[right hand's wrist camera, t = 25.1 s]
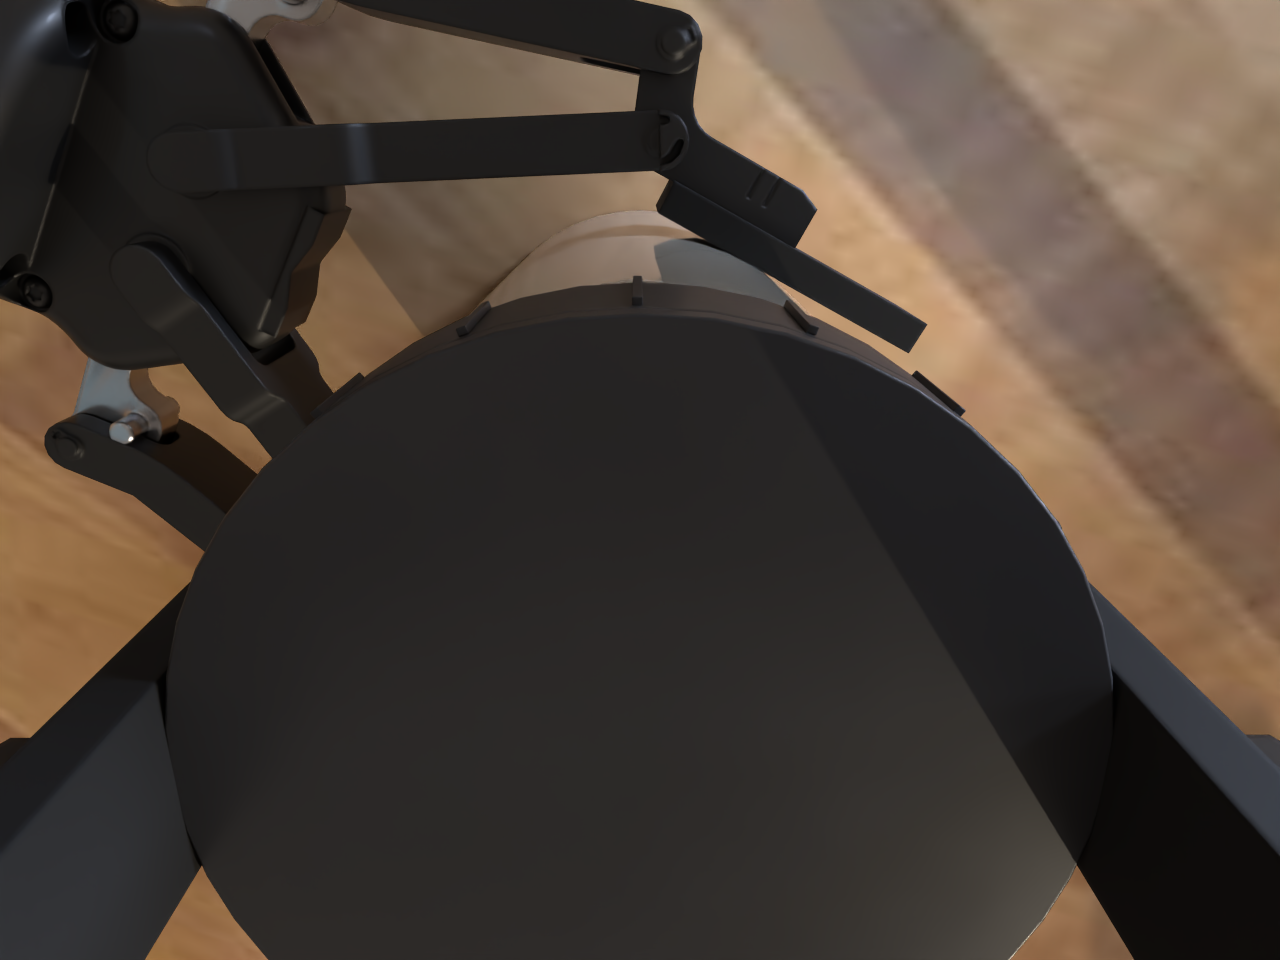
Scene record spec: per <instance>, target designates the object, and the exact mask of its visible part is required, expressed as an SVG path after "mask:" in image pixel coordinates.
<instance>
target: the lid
mask: <svg viewBox="0 0 1280 960" xmlns="http://www.w3.org/2000/svg"><path fill="white" fill-rule="evenodd" d="M964 412H965V409H963V408H962V407H961V406H960V405H959V404H957V403H956V402H955V401H954V400H952V399H951V398H950V397H949V396H948V395H946V394H945V393H944V392H943V391H941V390H940V389H939V388H938V387H937V386H935V385H934V384H933V383H932V382H930V381H929V380H928V379H927V378H925V377H924V376H923V375H922V374H921V373H919V372H918V371H915V372H914V373H913V375H910V374H909V373H908V372H906V371H905V370H903V369H902V368H901V367H899V366H898V365H896V364H895V363H893V362H892V361H891V360H889V359H888V358H886V357H885V356H884V355H882V354H881V353H879V352H878V351H876V350H875V349H874V348H872V347H871V346H869V345H868V344H866V343H864V342H862V341H860V340H858V339H856V338H854V337H852V336H850V335H849V334H847V333H845V332H843V331H841V330H839V329H837V328H835V327H833V326H831V325H829V324H827V323H825V322H823V321H821V320H819V319H817V318H815V317H812V316H809V315H806V314H805V313H804V312H803V311H802V310H801V309H800V307H799V306H798V305H797V304H796V303H795V302H792V301H790V300H786V302H785V305H784V306H781V305H778V304H775V303H772V302H769V301H767V300H764V299H761V298H756V297H751V296H746V295H741V294H737V293H732V292H727V291H722V290H717V289H712V288H707V287H703V286H690V285H676V284H661V283H647V282H642V276H633V283H618V284H603V285H587V286H577V287H572V288H567V289H562V290H557V291H552V292H547V293H542V294H537V295H532V296H527V297H522V298H519V299H516V300H513V301H510V302H507V303H504V304H501V305H498V306H495V307H492V308H491V305H490V302H489V301H486V302H484V303H481V304H480V305H479V306H478V307H477V308H476V309H475V310H474V311H473V312H472V313H471V314H470V315H469V316H466V317H464V318H462V319H460V320H458V321H456V322H454V323H452V324H450V325H448V326H446V327H444V328H442V329H440V330H438V331H436V332H434V333H432V334H430V335H428V336H426V337H424V338H422V339H420V340H418V341H416V342H414V343H413V344H411V345H410V346H408V347H407V348H405V349H404V350H402V351H401V352H400V353H398V354H397V355H395V356H394V357H392V358H391V359H390V360H388V361H387V362H385V363H384V364H382V365H381V366H380V367H378V368H377V369H375V370H374V371H372V372H371V373H369V374H368V375H367V376H365V377H364V376H363V375H362V374H361V373H358V374H357V375H356V376H354V377H353V378H352V379H351V380H350V381H348V382H347V383H346V384H345V385H343V386H342V387H341V388H340V389H339V390H337V391H336V392H335V393H334V394H332V395H331V396H330V397H329V398H328V399H326V400H325V401H324V402H323V403H321V404H320V405H319V406H318V407H317V408H315V409H314V410H313V411H312V412H311V413H310V414H311V415H312V416H313V417H314V418H315V420H314V421H312V422H311V423H310V424H309V425H308V426H307V427H306V428H305V429H304V430H303V431H302V432H300V433H299V434H298V435H297V436H296V437H295V438H294V439H293V440H292V441H291V442H290V443H289V444H288V445H287V446H286V447H284V448H283V449H282V450H281V451H280V452H279V453H278V454H277V455H276V456H275V457H274V458H273V459H272V460H271V461H270V462H269V463H267V464H266V465H265V466H264V467H263V468H262V469H261V471H260V472H259V473H258V474H257V476H256V477H255V478H254V480H253V481H252V482H251V483H250V485H249V486H248V487H247V489H246V490H245V491H244V492H243V494H242V495H241V496H240V497H239V499H238V500H237V501H236V503H235V504H234V505H233V506H232V508H231V509H230V510H229V511H228V513H227V514H226V515H225V517H224V518H223V520H222V522H221V523H220V524H219V525H218V527H217V529H216V531H215V532H216V533H215V534H214V536H213V538H212V540H211V542H210V543H209V545H208V547H207V549H206V551H205V552H204V554H203V556H202V558H201V560H200V561H199V563H198V565H197V567H196V569H195V571H194V574H193V577H192V580H191V583H190V585H189V588H188V591H187V594H186V596H185V599H184V602H183V605H182V607H181V610H180V613H179V616H178V618H177V621H176V626H175V632H174V637H173V642H172V648H171V653H170V658H169V663H168V669H167V674H166V702H165V734H166V739H167V744H168V749H169V754H170V759H171V764H172V769H173V774H174V778H175V783H176V788H177V792H178V797H179V802H180V806H181V810H182V814H183V819H184V823H185V827H186V831H187V834H188V836H189V838H190V840H191V842H192V844H193V847H194V849H195V851H196V853H197V855H198V858H199V860H200V862H201V864H202V866H203V868H204V871H205V873H206V875H207V877H208V879H209V880H210V882H211V883H212V885H213V886H214V888H215V890H216V891H217V893H218V894H219V896H220V897H221V899H222V901H223V902H224V904H225V905H226V907H227V908H228V910H229V911H230V913H231V915H232V916H233V918H234V919H235V921H236V922H237V923H238V924H239V925H240V926H241V928H242V929H243V930H244V931H245V932H246V934H247V935H248V936H249V937H250V938H251V940H252V941H253V942H254V943H255V944H256V946H257V947H258V948H259V949H260V950H261V952H262V953H263V954H264V955H265V956H266V958H267V959H268V960H1010V959H1011V958H1012V957H1013V956H1014V955H1015V953H1016V952H1017V951H1018V950H1019V949H1020V947H1021V946H1022V945H1023V944H1024V943H1025V941H1026V940H1027V939H1028V938H1029V937H1030V936H1031V934H1032V933H1033V932H1034V931H1035V930H1036V928H1037V927H1038V926H1039V925H1040V924H1041V923H1042V921H1043V920H1044V918H1045V917H1046V915H1047V914H1048V912H1049V911H1050V909H1051V908H1052V906H1053V904H1054V903H1055V901H1056V900H1057V898H1058V897H1059V895H1060V894H1061V892H1062V891H1063V889H1064V887H1065V886H1066V884H1067V883H1068V881H1069V880H1070V878H1071V876H1072V874H1073V872H1074V869H1075V867H1076V865H1077V863H1078V861H1079V859H1080V857H1081V854H1082V852H1083V850H1084V848H1085V846H1086V844H1087V842H1088V839H1089V837H1090V835H1091V833H1092V830H1093V826H1094V821H1095V817H1096V813H1097V809H1098V805H1099V800H1100V796H1101V791H1102V786H1103V782H1104V777H1105V772H1106V768H1107V763H1108V758H1109V753H1110V747H1111V742H1112V737H1113V732H1114V721H1113V677H1112V671H1111V666H1110V660H1109V655H1108V649H1107V644H1106V638H1105V633H1104V627H1103V623H1102V620H1101V617H1100V614H1099V611H1098V609H1097V606H1096V603H1095V600H1094V597H1093V594H1092V592H1091V589H1090V586H1089V583H1088V580H1087V577H1086V575H1085V572H1084V570H1083V568H1082V566H1081V564H1080V562H1079V560H1078V559H1077V557H1076V555H1075V553H1074V551H1073V549H1072V548H1071V546H1070V544H1069V542H1068V540H1067V538H1066V537H1065V535H1064V533H1063V531H1062V527H1061V526H1060V524H1059V522H1058V521H1057V520H1056V519H1055V517H1054V516H1053V515H1052V513H1051V512H1050V511H1049V510H1048V508H1047V507H1046V506H1045V504H1044V503H1043V502H1042V500H1041V499H1040V498H1039V497H1038V495H1037V494H1036V493H1035V491H1034V490H1033V489H1032V487H1031V486H1030V485H1029V484H1028V482H1027V481H1026V480H1025V478H1024V477H1023V476H1022V475H1021V473H1020V472H1019V471H1018V470H1017V469H1016V468H1015V467H1014V466H1013V465H1012V464H1011V463H1010V462H1009V461H1008V460H1007V459H1006V458H1005V457H1004V456H1003V455H1002V454H1001V453H999V452H998V451H997V450H996V449H995V448H994V447H993V446H992V445H991V444H990V443H989V442H988V441H987V440H986V439H985V438H984V437H983V436H982V435H981V434H980V433H978V432H977V431H976V430H975V429H974V428H973V427H972V426H971V425H970V424H969V423H968V422H966V421H965V420H964V419H963V418H961V416H962V414H963V413H964Z"/></svg>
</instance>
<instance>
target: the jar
mask: <svg viewBox="0 0 1280 960" xmlns="http://www.w3.org/2000/svg"><path fill="white" fill-rule="evenodd" d="M633 276H642V282H647V283H661V284H676V285H690V286H703V287H707V288H712V289H717V290H722V291H727V292H732V293H737V294H741V295H746V296H751V297H756V298H761V299H764V300H767V301H769V302H772V303H775V304H778V305H781V306H784V305H785V302H786V300H790V301H792V302H795V303H796V304H797V305H798V306H799V307H800V309H801V310H802V311H803V312H804V313H805V314H806V315H809V316H812V315H811V314H810V313H809V312H808V311H807V310H806V309H805V308H804V307H803V306H802V305H801V304H800V303H799V302H798V301H797V300H796V299H795V298H794V297H793V296H792V295H791V294H790V293H789V292H788V291H787V290H786V289H785V288H784V287H783V286H782V285H781V284H780V283H779V282H778V281H777V280H776V279H775V278H773V277H771V276H769V275H768V274H766V273H764V272H762V271H760V270H759V269H757V268H755V267H754V266H752V265H750V264H748V263H746V262H744V261H743V260H741V259H739V258H737V257H735V256H734V255H732V254H730V253H728V252H727V251H725V250H723V249H721V248H719V247H718V246H716V245H714V244H712V243H710V242H709V241H707V240H705V239H703V238H701V237H700V236H698V235H696V234H694V233H693V232H691V231H689V230H687V229H685V228H684V227H682V226H680V225H678V224H676V223H675V222H673V221H671V220H669V219H668V218H666V217H664V216H662V215H660V214H659V213H658V212H657V211H642V210H637V211H623V212H614V213H610V214H605V215H600V216H595V217H593V218H590V219H587V220H584V221H581V222H579V223H576V224H574V225H572V226H570V227H568V228H566V229H564V230H562V231H560V232H558V233H556V234H555V235H553V236H552V237H550V238H549V239H548V240H546V241H545V242H543V243H542V244H541V245H539V246H538V247H537V248H536V249H535V250H534V251H532V252H531V253H530V254H529V255H528V256H527V257H526V258H525V259H524V260H523V261H522V262H521V263H520V264H519V265H518V266H517V267H516V268H515V269H514V270H513V271H512V272H511V273H510V274H509V275H508V276H507V277H506V278H505V279H504V280H503V281H502V282H501V283H500V284H499V285H498V286H497V287H496V288H495V289H494V290H493V291H492V292H491V293H490V294H489V295H488V296H487V297H486V298H485V299H484V300H483V301H482V302H481V303H484V302H486V301H489V302H490V305H491V308H492V307H495V306H498V305H501V304H504V303H507V302H510V301H513V300H516V299H519V298H522V297H527V296H532V295H537V294H542V293H547V292H552V291H557V290H562V289H567V288H572V287H577V286H587V285H603V284H618V283H633ZM481 303H480V304H481ZM480 304H479V305H480ZM479 305H478V306H479ZM478 306H477V307H478ZM477 307H476V308H477ZM476 308H474V309H473V310H472V311H471V312H470V313H469V314H468V315H467V316H469V315H470V314H471V313H472V312H473V311H474V310H475V309H476ZM812 317H813V316H812Z"/></svg>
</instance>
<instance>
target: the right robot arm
mask: <svg viewBox="0 0 1280 960" xmlns="http://www.w3.org/2000/svg"><path fill="white" fill-rule="evenodd" d="M190 583H191V582H190ZM190 583H189V584H188V585H187V586H186V587H185V588H184V589H182V590H181V591H180V592H179V593H178V594H177V595H176V596H175V597H174V598H173V599H172V600H171V601H170V602H169V603H168V604H167V605H166V606H165V607H164V608H163V609H162V610H161V611H160V612H159V613H158V614H157V615H156V616H155V617H154V618H153V619H152V620H151V621H150V622H149V623H148V624H147V625H146V626H145V627H144V628H143V629H142V630H140V631H139V632H138V633H137V634H136V635H135V636H134V637H133V638H132V639H131V640H130V641H129V642H128V643H127V644H126V645H125V646H124V647H123V648H122V649H121V650H120V651H119V652H118V653H117V654H116V655H115V656H114V657H113V658H112V659H111V660H110V661H109V662H108V663H107V664H106V665H105V666H104V667H103V668H102V669H101V670H100V671H98V672H97V673H96V674H95V675H94V676H93V677H92V678H91V679H90V680H89V681H88V682H87V683H86V684H85V685H84V686H83V687H82V688H81V689H80V690H79V691H78V692H77V693H76V694H75V695H74V696H73V697H72V698H71V699H70V700H69V701H68V702H67V703H66V704H65V705H64V706H63V707H62V708H61V709H60V710H59V711H58V712H56V713H55V714H54V715H53V716H52V717H51V718H50V719H49V720H48V721H47V722H46V723H45V724H44V725H43V726H42V727H41V728H40V729H39V730H38V731H37V732H36V733H35V734H34V735H33V736H32V737H31V738H9V739H8V740H6V741H4V742H3V743H1V744H0V960H145V958H146V957H147V955H148V953H149V952H150V950H151V948H152V947H153V945H154V943H155V942H156V940H157V939H158V937H159V935H160V934H161V932H162V930H163V929H164V927H165V925H166V924H167V922H168V920H169V919H170V917H171V915H172V914H173V912H174V910H175V909H176V907H177V905H178V904H179V902H180V901H181V899H182V897H183V896H184V894H185V892H186V891H187V889H188V887H189V886H190V884H191V882H192V881H193V879H194V877H195V876H196V874H197V872H198V871H199V869H200V868H201V866H202V864H201V862H200V860H199V858H198V855H197V853H196V851H195V849H194V847H193V844H192V842H191V840H190V838H189V836H188V834H187V831H186V827H185V823H184V819H183V814H182V810H181V806H180V802H179V797H178V792H177V788H176V783H175V778H174V774H173V769H172V764H171V759H170V754H169V749H168V744H167V739H166V734H165V702H166V674H167V669H168V663H169V658H170V653H171V648H172V642H173V637H174V632H175V626H176V621H177V618H178V616H179V613H180V610H181V607H182V605H183V602H184V599H185V596H186V594H187V591H188V588H189V585H190ZM1088 583H1089V582H1088ZM1089 586H1090V589H1091V592H1092V594H1093V597H1094V600H1095V603H1096V606H1097V609H1098V611H1099V614H1100V617H1101V620H1102V623H1103V627H1104V633H1105V638H1106V644H1107V649H1108V655H1109V660H1110V666H1111V671H1112V677H1113V721H1114V732H1113V737H1112V742H1111V747H1110V753H1109V758H1108V763H1107V768H1106V772H1105V777H1104V782H1103V786H1102V791H1101V796H1100V800H1099V805H1098V809H1097V813H1096V817H1095V821H1094V826H1093V830H1092V833H1091V835H1090V837H1089V839H1088V842H1087V844H1086V846H1085V848H1084V850H1083V852H1082V854H1081V857H1080V859H1079V861H1078V863H1077V866H1078V867H1079V869H1080V871H1081V872H1082V874H1083V876H1084V877H1085V879H1086V881H1087V882H1088V884H1089V886H1090V887H1091V889H1092V891H1093V892H1094V894H1095V896H1096V897H1097V899H1098V900H1099V902H1100V904H1101V905H1102V907H1103V909H1104V910H1105V912H1106V914H1107V915H1108V917H1109V919H1110V920H1111V922H1112V924H1113V925H1114V927H1115V929H1116V930H1117V932H1118V933H1119V935H1120V937H1121V938H1122V940H1123V942H1124V943H1125V945H1126V947H1127V948H1128V950H1129V952H1130V953H1131V955H1132V957H1133V958H1134V960H1280V741H1279V740H1277V739H1276V738H1274V737H1272V736H1270V735H1245V734H1244V733H1243V732H1242V731H1241V730H1240V729H1239V728H1238V727H1237V726H1236V725H1235V724H1234V723H1233V722H1232V721H1231V720H1230V719H1229V718H1228V717H1227V716H1226V715H1225V714H1223V713H1222V712H1221V711H1220V710H1219V709H1218V708H1217V707H1216V706H1215V705H1214V704H1213V703H1212V702H1211V701H1210V700H1209V699H1208V698H1207V697H1206V696H1205V695H1204V694H1203V693H1202V692H1201V691H1200V690H1199V689H1198V688H1197V687H1196V686H1195V685H1194V684H1193V683H1192V682H1191V681H1190V680H1189V679H1188V678H1187V677H1186V676H1185V675H1184V674H1183V673H1181V672H1180V671H1179V670H1178V669H1177V668H1176V667H1175V666H1174V665H1173V664H1172V663H1171V662H1170V661H1169V660H1168V659H1167V658H1166V657H1165V656H1164V655H1163V654H1162V653H1161V652H1160V651H1159V650H1158V649H1157V648H1156V647H1155V646H1154V645H1153V644H1152V643H1151V642H1150V641H1149V640H1148V639H1147V638H1146V637H1145V636H1144V635H1143V634H1142V633H1141V632H1140V631H1138V630H1137V629H1136V628H1135V627H1134V626H1133V625H1132V624H1131V623H1130V622H1129V621H1128V620H1127V619H1126V618H1125V617H1124V616H1123V615H1122V614H1121V613H1120V612H1119V611H1118V610H1117V609H1116V608H1115V607H1114V606H1113V605H1112V604H1111V603H1110V602H1109V601H1108V600H1107V599H1106V598H1105V597H1104V596H1103V595H1102V594H1101V593H1100V592H1099V591H1098V590H1096V589H1095V588H1094V587H1093V586H1092V585H1091V584H1090V583H1089Z"/></svg>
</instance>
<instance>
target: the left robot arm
mask: <svg viewBox="0 0 1280 960" xmlns="http://www.w3.org/2000/svg"><path fill="white" fill-rule="evenodd" d="M338 2H340V3H342V4H344V5H346V6H348V7H351V8H353V9H355V10H358V11H360V12H363V13H365V14H367V15H370V16H373V17H377V18H380V19H384V20H387V21H391V22H396V23H400V24H405V25H409V26H414V27H418V28H423V29H428V30H432V31H437V32H441V33H446V34H450V35H455V36H460V37H464V38H469V39H473V40H478V41H482V42H487V43H492V44H496V45H501V46H505V47H510V48H515V49H519V50H524V51H528V52H533V53H537V54H542V55H547V56H551V57H556V58H560V59H565V60H569V61H574V62H579V63H583V64H588V65H592V66H597V67H601V68H606V69H611V70H615V71H620V72H624V73H629V74H633V75H638V76H640V77H639V84H638V92H637V99H636V107H635V111H627V112H605V113H583V114H561V115H540V116H518V117H496V118H474V119H452V120H431V121H409V122H387V123H358V124H325V125H315V124H314V122H313V120H312V118H311V117H310V115H309V113H308V111H307V110H306V108H305V106H304V104H303V103H302V101H301V99H300V97H299V96H298V94H297V92H296V90H295V89H294V87H293V85H292V83H291V82H290V80H289V78H288V76H287V74H286V73H285V71H284V69H283V67H282V66H281V64H280V62H279V60H278V59H277V57H276V55H275V53H274V52H273V50H272V48H271V46H270V45H269V43H268V42H267V40H266V39H265V37H266V35H267V34H268V32H269V30H270V29H271V28H272V27H273V26H274V25H276V24H277V23H280V22H283V21H295V22H298V23H301V24H305V25H308V26H316V25H319V24H322V23H324V22H325V21H327V20H328V19H329V18H330V17H331V15H332V13H333V12H334V10H335V7H336V5H337V3H338ZM701 50H702V34H701V31H700V28H699V26H698V24H697V23H696V21H695V20H694V19H693V18H692V17H691V16H690V15H688V14H686V13H684V12H682V11H680V10H676V9H671V8H667V7H662V6H658V5H654V4H649V3H645V2H640V1H636V0H208V1H207V4H206V6H205V7H202V6H184V7H176V6H168V5H166V4H164V3H161V2H159V1H157V0H0V299H3V300H5V301H8V302H11V303H14V304H17V305H19V306H22V307H25V308H28V309H31V310H33V311H36V312H38V313H40V314H42V315H44V316H46V317H47V318H49V319H50V320H51V321H53V322H54V323H55V324H57V325H58V326H59V327H60V328H61V329H62V330H63V331H64V332H65V333H66V334H67V335H68V336H69V337H70V338H71V339H72V340H73V342H74V343H75V344H76V345H77V346H78V348H79V349H80V350H81V351H82V352H83V353H84V354H85V355H87V356H88V357H89V358H88V361H87V365H86V369H85V373H84V377H83V380H82V384H81V388H80V392H79V396H78V400H77V403H76V407H75V411H74V413H73V415H72V416H71V417H69V418H67V419H65V420H62V421H60V422H58V423H56V424H55V425H53V426H52V427H50V428H49V429H48V431H47V433H46V435H45V448H46V450H47V453H48V455H49V456H50V457H51V458H52V459H53V460H54V462H55V463H57V464H59V465H60V466H62V467H64V468H66V469H68V470H71V471H73V472H76V473H78V474H81V475H83V476H86V477H88V478H91V479H93V480H96V481H98V482H101V483H103V484H106V485H108V486H111V487H113V488H116V489H118V490H121V491H123V492H126V493H128V494H131V495H133V496H134V497H136V498H137V499H138V500H140V501H141V502H142V503H143V504H145V505H146V506H147V507H149V508H150V509H151V510H152V511H154V512H155V513H156V514H157V515H159V516H160V517H161V518H163V519H164V520H165V521H166V522H168V523H169V524H170V525H171V526H173V527H174V528H175V529H177V530H178V531H179V532H180V533H182V534H183V535H184V536H186V537H187V538H188V539H189V540H191V541H192V542H193V543H194V544H196V545H197V546H198V547H200V548H201V549H202V550H203V551H206V549H207V547H208V545H209V543H210V542H211V540H212V538H213V536H214V534H215V533H216V532H215V531H216V529H217V527H218V525H219V524H220V523H221V522H222V520H223V518H224V517H225V515H226V514H227V513H228V511H229V510H230V509H231V508H232V506H233V505H234V504H235V503H236V501H237V500H238V499H239V497H240V496H241V495H242V494H243V492H244V491H245V490H246V489H247V487H248V486H249V485H250V483H251V482H252V481H253V480H254V478H255V477H256V476H257V474H256V473H255V472H254V471H253V470H252V469H250V468H249V467H248V466H247V465H245V464H244V463H243V462H242V461H241V460H239V459H238V458H237V457H236V456H235V455H233V454H232V453H231V452H230V451H228V450H227V449H226V448H225V447H224V446H222V445H221V444H220V443H218V442H217V441H216V440H214V439H213V438H212V437H210V436H209V435H208V434H206V433H204V432H203V431H201V430H199V429H198V428H196V427H195V426H193V425H191V424H189V423H187V422H185V421H183V420H181V419H179V416H178V414H179V411H180V407H179V404H178V402H177V401H176V400H175V399H174V398H171V397H169V396H164V395H163V394H161V393H160V392H159V391H157V390H156V388H155V387H154V386H153V385H152V383H151V381H150V379H149V374H148V368H153V367H160V366H167V365H174V364H182V363H184V365H185V366H186V367H187V368H188V370H189V371H190V372H191V374H192V375H193V376H194V377H195V379H196V380H197V381H198V382H199V384H200V385H201V386H202V387H203V389H204V390H205V391H206V392H207V394H208V395H209V396H210V397H211V399H212V400H213V401H214V403H215V404H216V405H217V406H218V408H219V409H220V410H221V411H222V412H223V413H224V414H225V415H226V416H227V417H228V418H230V419H231V420H233V421H236V422H239V423H242V424H244V425H245V426H247V427H248V428H249V429H250V431H251V432H252V433H253V434H254V436H255V437H256V438H257V439H258V441H259V442H260V443H261V445H262V446H263V447H264V448H265V450H266V451H267V452H268V453H269V455H270V456H271V457H272V459H273V458H274V457H275V456H276V455H277V454H278V453H279V452H280V451H281V450H282V449H283V448H284V447H286V446H287V445H288V444H289V443H290V442H291V441H292V440H293V439H294V438H295V437H296V436H297V435H298V434H299V433H300V432H302V431H303V430H304V429H305V428H306V427H307V426H308V425H309V424H310V423H311V422H312V421H314V420H315V418H314V417H313V416H312V415H311V414H310V413H311V412H312V411H313V410H314V409H315V408H317V407H318V406H319V405H320V404H321V403H323V402H324V401H325V400H326V399H328V398H329V397H330V396H331V395H332V394H334V393H333V392H332V390H331V389H330V388H329V386H328V385H327V384H326V382H325V381H324V380H323V378H322V377H321V375H320V372H319V364H318V361H317V359H316V357H315V355H314V354H313V352H312V351H311V349H310V348H309V346H308V345H307V344H306V342H305V341H304V340H303V338H302V337H301V336H300V334H299V333H298V332H297V330H296V329H295V327H297V326H299V325H301V324H303V323H305V322H306V320H307V317H308V315H309V312H310V310H311V307H312V305H313V302H314V300H315V298H316V295H317V286H318V277H319V268H320V263H321V261H322V259H323V258H324V257H325V256H326V254H327V253H328V252H329V251H330V249H331V248H332V247H333V246H334V244H335V243H336V242H337V241H338V239H339V238H340V237H341V234H342V232H343V229H344V227H345V224H346V222H347V219H348V217H349V215H350V212H351V210H352V209H351V208H349V207H347V206H345V204H346V191H345V185H358V184H372V183H391V182H414V181H436V180H458V179H480V178H503V177H525V176H547V175H570V174H592V173H614V172H636V171H655V172H657V173H658V174H660V175H662V176H664V177H665V178H667V179H669V181H668V183H667V185H666V187H665V189H664V191H663V193H662V195H661V196H660V198H659V200H658V202H657V204H656V207H657V211H658V213H659V214H660V215H662V216H664V217H666V218H668V219H669V220H671V221H673V222H675V223H676V224H678V225H680V226H682V227H684V228H685V229H687V230H689V231H691V232H693V233H694V234H696V235H698V236H700V237H701V238H703V239H705V240H707V241H709V242H710V243H712V244H714V245H716V246H718V247H719V248H721V249H723V250H725V251H727V252H728V253H730V254H732V255H734V256H735V257H737V258H739V259H741V260H743V261H744V262H746V263H748V264H750V265H752V266H754V267H755V268H757V269H759V270H760V271H762V272H764V273H766V274H768V275H769V276H771V277H773V278H775V279H777V280H778V281H780V282H782V283H784V284H786V285H787V286H789V287H791V288H793V289H794V290H796V291H798V292H800V293H802V294H803V295H805V296H807V297H809V298H811V299H812V300H814V301H816V302H818V303H820V304H821V305H823V306H825V307H827V308H828V309H830V310H832V311H834V312H836V313H837V314H839V315H841V316H843V317H845V318H846V319H848V320H850V321H852V322H853V323H855V324H857V325H859V326H861V327H862V328H864V329H866V330H868V331H870V332H871V333H873V334H875V335H877V336H879V337H880V338H882V339H884V340H886V341H887V342H889V343H891V344H893V345H895V346H896V347H898V348H900V349H902V350H904V351H905V352H907V353H909V352H910V350H911V349H912V347H913V346H914V344H915V343H916V341H917V340H918V338H919V337H920V335H921V333H922V332H923V330H924V329H925V327H926V326H927V324H926V323H924V322H923V321H921V320H920V319H918V318H916V317H915V316H913V315H912V314H910V313H908V312H907V311H905V310H904V309H902V308H900V307H899V306H897V305H896V304H894V303H892V302H890V301H889V300H887V299H885V298H883V297H882V296H880V295H878V294H876V293H875V292H873V291H871V290H869V289H867V288H866V287H864V286H862V285H860V284H859V283H857V282H855V281H853V280H852V279H850V278H848V277H846V276H845V275H843V274H841V273H839V272H838V271H836V270H834V269H832V268H831V267H829V266H827V265H825V264H823V263H822V262H820V261H818V260H816V259H815V258H813V257H811V256H809V255H808V254H806V253H804V252H802V251H801V250H799V249H797V248H795V247H796V246H797V244H798V242H799V240H800V239H801V237H802V235H803V234H804V232H805V230H806V228H807V227H808V225H809V223H810V221H811V220H812V218H813V216H814V215H815V213H816V211H817V209H816V207H815V206H814V205H813V203H812V202H811V201H810V199H809V198H808V197H807V195H806V194H805V192H804V191H803V190H801V189H800V188H798V187H796V186H795V185H793V184H791V183H789V182H788V181H786V180H784V179H783V178H781V177H779V176H777V175H776V174H774V173H772V172H770V171H769V170H767V169H765V168H763V167H762V166H760V165H758V164H757V163H755V162H753V161H752V160H750V159H748V158H746V157H745V156H743V155H741V154H740V153H738V152H736V151H734V150H733V149H731V148H729V147H727V146H726V145H724V144H722V143H721V142H719V141H717V140H715V139H714V138H712V137H711V136H709V135H708V134H707V133H705V132H704V130H703V129H702V128H701V127H700V125H699V124H698V121H697V119H696V117H695V113H694V108H693V98H694V90H695V84H696V77H697V70H698V64H699V57H700V52H701Z"/></svg>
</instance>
